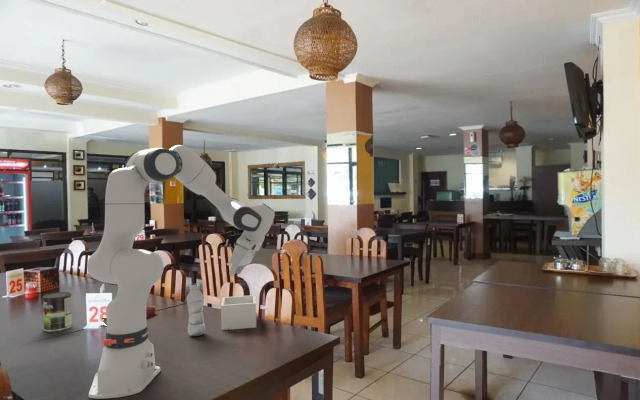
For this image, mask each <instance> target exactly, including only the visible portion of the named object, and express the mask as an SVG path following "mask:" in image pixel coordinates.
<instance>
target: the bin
mask: <svg viewBox="0 0 640 400" xmlns="http://www.w3.org/2000/svg"><path fill="white" fill-rule="evenodd" d="M256 306H257V302H256V295H252V294H251V295H239V296H237V295H235V296H223V297H222V300H221V304H220V317H221V318H220V320H221V322H220V323H221V326H220V327H221V331H225V330H226V331H227V330H228V329H229V330H240V329H241V330H242V329H252V328H253V329H254V328H257V307H256Z"/></svg>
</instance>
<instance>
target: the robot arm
mask: <svg viewBox="0 0 640 400" xmlns="http://www.w3.org/2000/svg"><path fill="white" fill-rule="evenodd" d="M173 177H174V178H176V179H177V180H178V181H179V182H180V183H181V184H182V185H183V186H184V187H185V188H187V190H189V191H191V192H192V193H194V194H196V195H201V196H203V197H205V198H206V199H207V200H208V201H209V202H210V203H211V204H212V205H213V206H214V207H215V209H216V210H217V212H218V214H219V216H220V219H221V220H223V222H226V223H228V224H230V225H231V226H232V227H235V229H237V230H241V231H243V232H242V233H241V235H240V236H239V237H238V238H237V239H236V242H235V243H236V245H235V247H234V249H233V251H232V253H231V256H230V259H229V263H230V264H231V267H230V271H229V273H228V275H230V276H231V277H233V276H235V274H237V275H241V273H242V272H243V270H244V269H245V268H246V266H247V265H250V264H251V263H252V260H253V258H254V257H255V254H256V252H259V251H260V249H261V247H262V245H263V243H264V241H265V237H266V234H267V233H268V232H269V231H270V229H271V227H272V225H273V222H274V219H275V217H276V216H275V215H276V214H275V211H274V209H272V208H271V207H270V206H268V205H267V204H265V203H263V202H259V203H257V204H248V203H247V204H245V203H243V202H242V201H241V200H238V199H237V198H234V197H230V196H228V195H227V193H225V191H223V190H222V189H221V188H220V187H219V186H218V185H217V184H216V182H217V175H216V173H215V171H214V170H213V169H212V167H211V166H210V164H208V163H207V162H206V161H205V160H204V159H203V157H200V156H199V155H198V154H197V153H196V152H195V151H193V150H191V149H190V148H189V147H186V146H185V145H183V144H177V145H174V146H171V148H164V147H154V148H145V149H142V150H138V151H136V152H135V151H134V152H133V153H131V154H130V156H128V158H127V159H126V161H125V163H124V164H123V166H122V167H120V168H117V169H114V170H112V171H111V172H110V173H109V175H108V176H107V182H106V188H105V195H104V196H105V199H104V229H103V234H102V236H101V237H102V238H101V240H100V244H99V246H98V248H97V249H96V250H95V251H94V252H93V253H92V254H91V255H90V256H89V258H88V260H87V265H86V267H87V269H86V270H87V272H88V275H89V276H90V277H91V278H92V279H94V280H95V281H99V282H101V283H105V284H110V285H111V284H113V285H117V293H116V296H115V298H114V299H112V300H111V301H110V302H108V304H107V306H106V315H107V326H106V332H105V336H104V339H103V342H102V343H103V348H102V354H101V357H100V362H99V364H98V370H97V372H96V373H95V374H94V378H93V380H92V384H91V386H90V389H89V392H88V398H89V399H97V400H98V399H101V400H102V399H103V400H104V399H105V400H106V399H115V398H123V397H128V396H132V395H136V394H138V393H142V392H143V390H145V388H146V387H147V386H148V385H149V384H150V383H151V382H152V381H153V380H154V378H155V377H157V375H158V374H159V373H160V372H161V367H160V366H157V365H156V360H155V345H154V344H153V343H152V342H151V341H150V340H149V333H150V332H149V325H147V318H146V306H147V301H148V297H149V295H150V292H151V290H152V288H153V286H154V285H155V284H156V283H157V282H159V280H160V279H161V278H162V275H163V272H164V261H163V257H161V255H160V254H158V253H157V252H154V251H151V250H148V249H142V248H141V249H139V248H133V245H134V243H135V239H136V237H138V235H139V234H141V233H142V232H143V230H144V229H145V223H146V222H145V221H146V220H145V217H146V215H145V214H146V213H145V193H146V192H145V191H146V187H147V186H148V185H149V184H156V183H160V182H161V183H162V182H166V181H169V180H171V179H173Z"/></svg>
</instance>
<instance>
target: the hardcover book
mask: <svg viewBox="0 0 640 400" xmlns="http://www.w3.org/2000/svg"><path fill="white" fill-rule="evenodd" d="M156 313H157V308H156V306H153V305H152V306H151V305H146V319H147V318H149V317H152V316H154V315H156ZM102 319H104V321H103V322H104V323H105V324H106V325H107V318H102Z"/></svg>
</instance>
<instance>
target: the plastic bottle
mask: <svg viewBox="0 0 640 400" xmlns="http://www.w3.org/2000/svg"><path fill="white" fill-rule="evenodd" d="M200 287H201V286H200V283H192V284H189V293H187V296H186V299H185V300H186V305H187V310H188V324H187V333H188V335H189V336H190V337H199V336H202V335H204V334H205V332H206V324H205V320H204V299H205V297H204V295H203V293H202V292H201V290H200V289H201V288H200Z"/></svg>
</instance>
